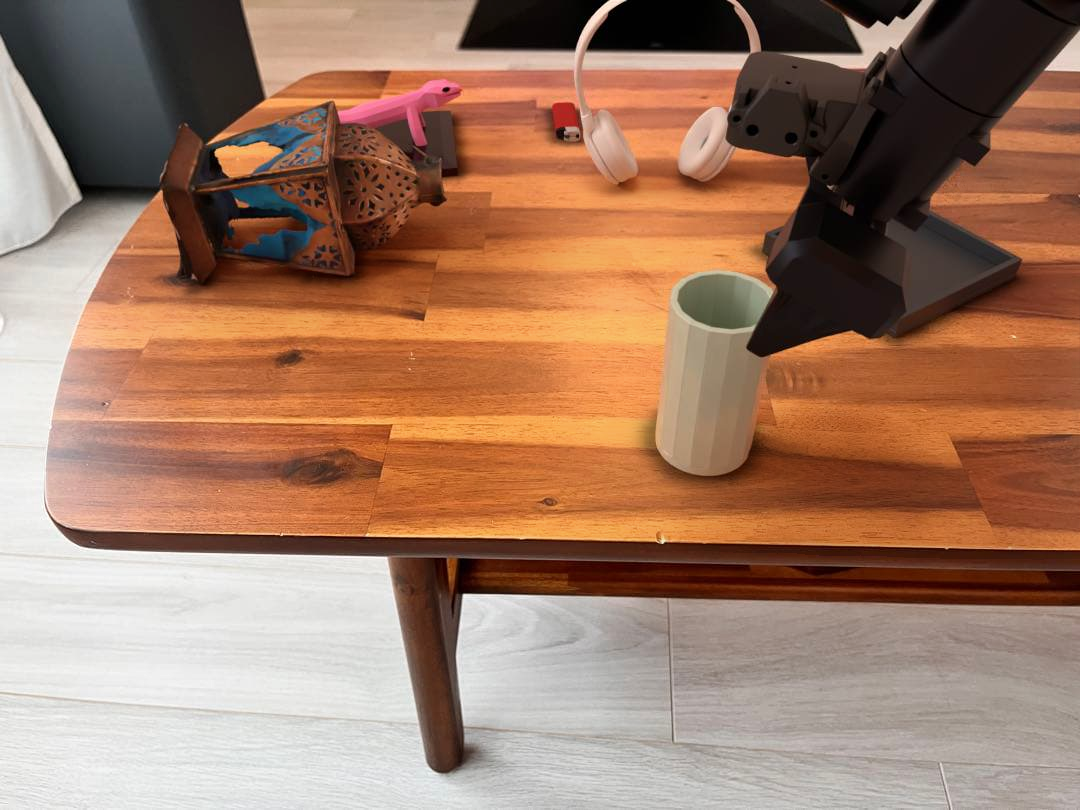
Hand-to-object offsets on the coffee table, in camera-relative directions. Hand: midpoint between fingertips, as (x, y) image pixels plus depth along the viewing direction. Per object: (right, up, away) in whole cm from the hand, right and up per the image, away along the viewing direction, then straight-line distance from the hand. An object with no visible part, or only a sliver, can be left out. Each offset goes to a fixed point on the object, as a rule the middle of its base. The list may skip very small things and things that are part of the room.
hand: (767, 305), depth 52 cm
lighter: (-10, +27, +54) cm, 61 cm away
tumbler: (-1, -9, +15) cm, 17 cm away
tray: (+19, +7, +32) cm, 38 cm away
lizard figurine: (-32, +23, +50) cm, 64 cm away
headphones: (-1, +18, +45) cm, 48 cm away
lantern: (-35, +9, +35) cm, 50 cm away
